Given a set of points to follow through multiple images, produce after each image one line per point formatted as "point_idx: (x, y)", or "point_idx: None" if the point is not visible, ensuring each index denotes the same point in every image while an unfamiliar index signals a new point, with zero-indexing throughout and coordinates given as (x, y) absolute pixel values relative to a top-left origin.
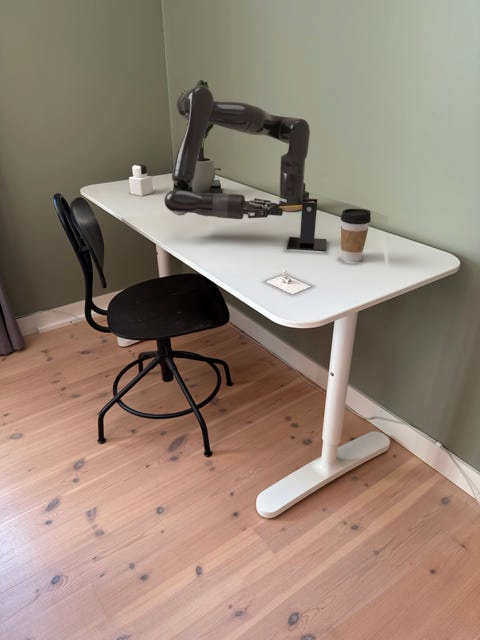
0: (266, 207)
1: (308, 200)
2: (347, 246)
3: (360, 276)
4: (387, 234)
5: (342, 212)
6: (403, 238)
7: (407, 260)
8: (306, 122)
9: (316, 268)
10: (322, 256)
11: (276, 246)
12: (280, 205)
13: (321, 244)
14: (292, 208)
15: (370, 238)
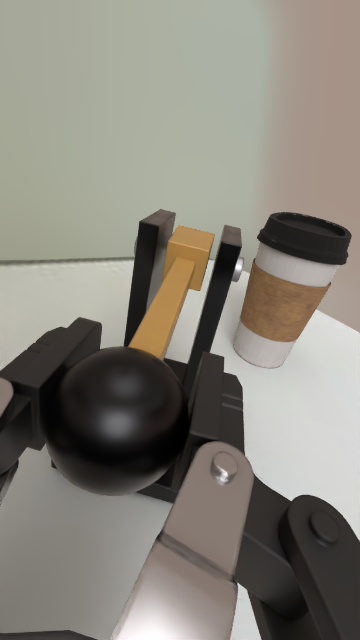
0: (223, 494)
1: (165, 227)
2: (305, 325)
3: (349, 365)
4: (94, 265)
5: (321, 236)
6: (124, 261)
7: (235, 292)
8: None
9: (354, 439)
10: (244, 397)
11: (126, 567)
12: (86, 340)
13: (175, 370)
14: (181, 308)
15: (110, 286)
